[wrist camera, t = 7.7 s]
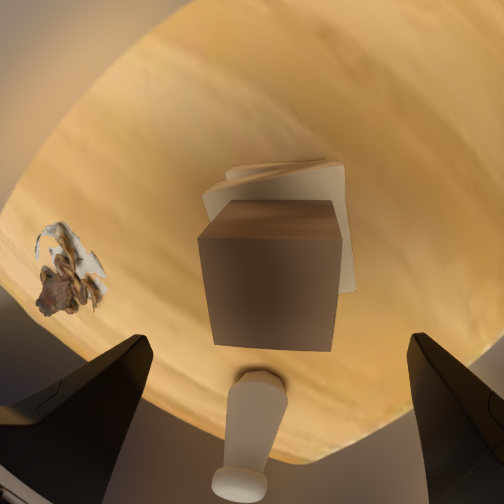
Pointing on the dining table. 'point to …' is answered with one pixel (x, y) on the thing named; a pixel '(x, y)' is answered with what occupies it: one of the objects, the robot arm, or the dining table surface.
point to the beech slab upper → (292, 188)
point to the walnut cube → (273, 274)
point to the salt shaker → (249, 435)
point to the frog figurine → (68, 273)
